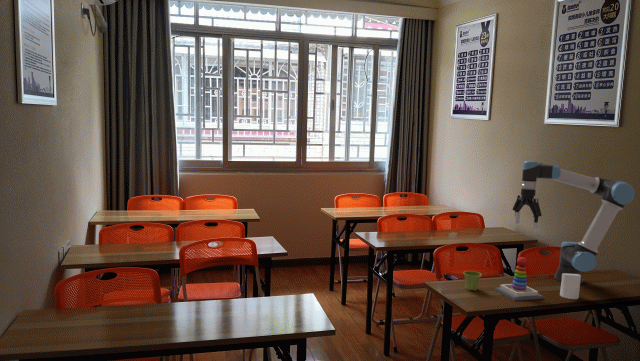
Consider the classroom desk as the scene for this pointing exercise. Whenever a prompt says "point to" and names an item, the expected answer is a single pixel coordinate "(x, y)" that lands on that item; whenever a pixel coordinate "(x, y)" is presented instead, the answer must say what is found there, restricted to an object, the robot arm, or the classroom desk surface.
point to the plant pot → (472, 280)
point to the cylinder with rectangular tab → (570, 286)
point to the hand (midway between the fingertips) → (525, 225)
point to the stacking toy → (520, 276)
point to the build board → (518, 293)
